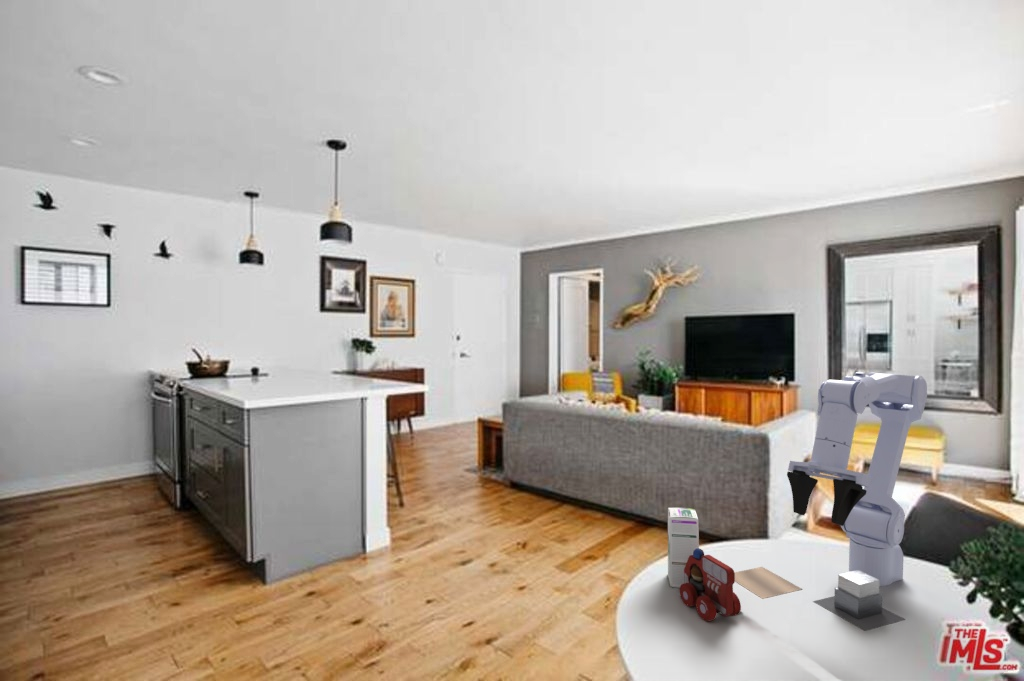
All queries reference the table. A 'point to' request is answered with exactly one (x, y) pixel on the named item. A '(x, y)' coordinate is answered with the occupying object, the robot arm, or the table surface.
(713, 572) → the toy fire truck
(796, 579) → the table surface
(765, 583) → the stand
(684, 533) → the syrup box
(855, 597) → the housing
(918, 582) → the table surface
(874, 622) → the stand
